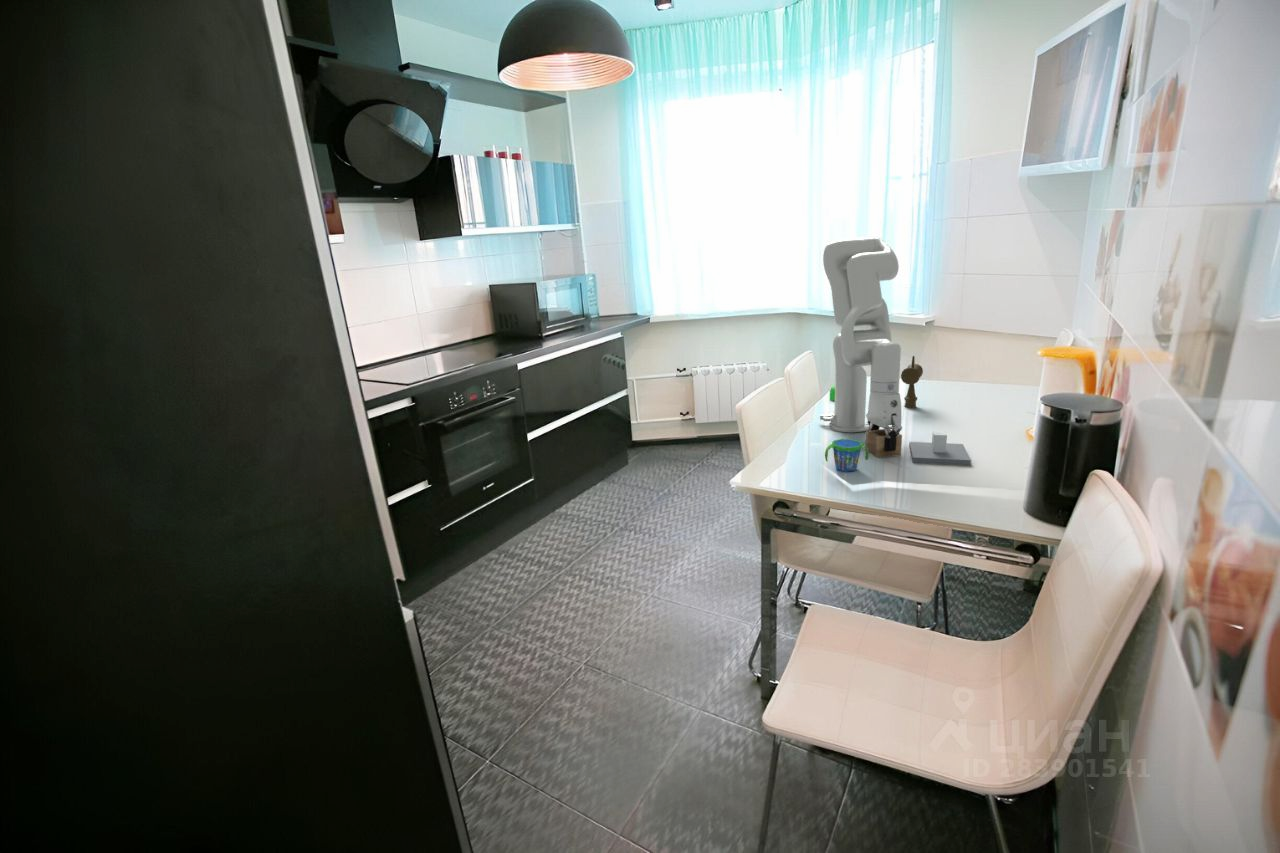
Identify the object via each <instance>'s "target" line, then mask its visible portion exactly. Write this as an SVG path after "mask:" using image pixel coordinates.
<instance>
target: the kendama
mask: <svg viewBox="0 0 1280 853" xmlns="http://www.w3.org/2000/svg"><path fill="white" fill-rule="evenodd" d="M915 360H916V358H915V355H913V356H912V359H911V364H908V366H907V367H906V368H904V369H903V370H902V371H901V373H900V377H901V378H900V380H901V381H902V382H903V383H904V384H906V385H908V389H907V393H906V395H905V397H904V398H903V399H904V401H905V402H904V406H903V407H904V408H906V409H916V408H917V401H918V397H917V396H916V391H915V390H916V389H915V385H916V384H917V383H918V382H919V381H920V379H921V377H922V376H923V373H924V370H923V367H922V366H921V365H920V364H918V363H915Z"/></svg>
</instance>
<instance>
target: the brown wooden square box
mask: <svg viewBox="0 0 1280 853" xmlns="http://www.w3.org/2000/svg"><path fill="white" fill-rule="evenodd" d="M891 431H892V429H889V432H891ZM885 438H887V437H886V433H885V429H884V428H879V430H866V431H865V438H864V445H865V446H866V447H867V448H868V451H869V455H872V456H874V457H876V458H878V459H880V458H881V459H882V458H888V457H896V456H901V455H902V444H903V443H902V442H903V441H902V440H903V439H902V438H903V434H900V433H899V434H898V437H897V438H896V450H895V451H889V452H886V451H884V448H885ZM864 451H865V452H866V448H865V447H864Z"/></svg>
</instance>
